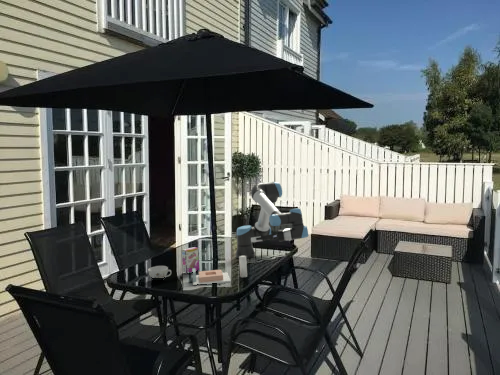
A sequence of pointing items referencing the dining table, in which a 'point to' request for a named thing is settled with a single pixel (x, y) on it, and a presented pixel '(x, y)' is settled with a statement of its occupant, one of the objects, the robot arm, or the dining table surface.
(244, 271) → the peg
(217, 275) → the charging dock
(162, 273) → the teacup
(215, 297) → the dining table surface
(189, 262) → the candy bar box
